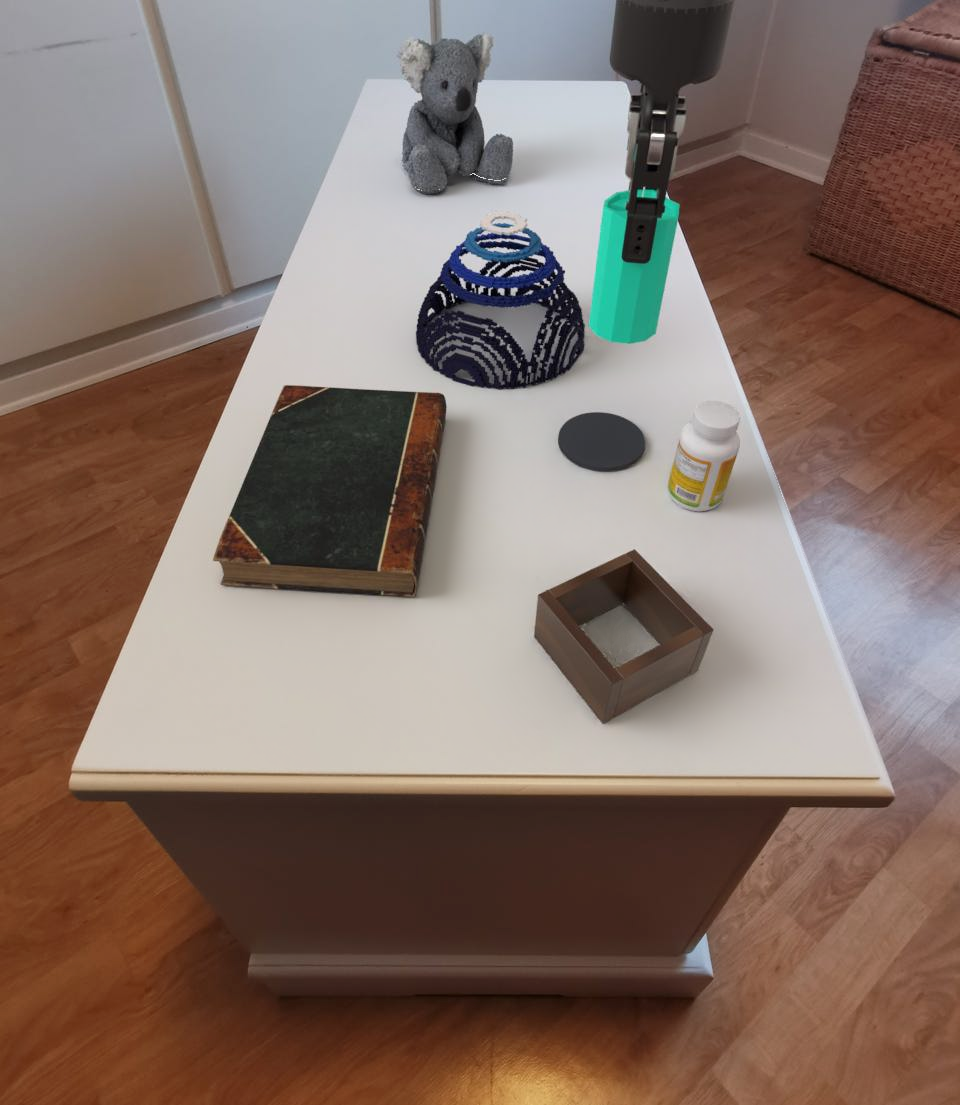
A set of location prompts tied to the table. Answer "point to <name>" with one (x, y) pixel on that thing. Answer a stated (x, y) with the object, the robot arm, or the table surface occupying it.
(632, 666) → the square wooden box
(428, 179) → the koala plush
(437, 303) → the decorative bowl
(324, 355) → the table surface
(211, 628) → the table surface
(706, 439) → the supplement bottle
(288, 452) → the book
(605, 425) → the coaster
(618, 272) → the candle
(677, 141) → the robot arm
